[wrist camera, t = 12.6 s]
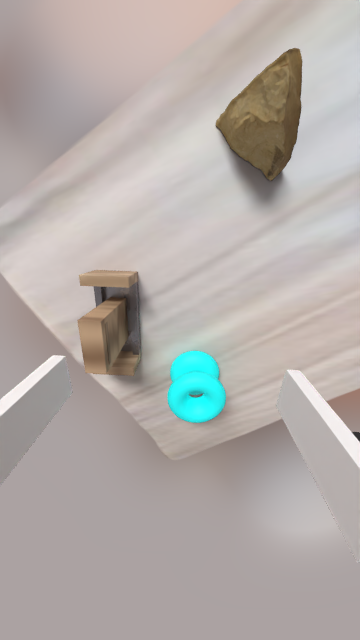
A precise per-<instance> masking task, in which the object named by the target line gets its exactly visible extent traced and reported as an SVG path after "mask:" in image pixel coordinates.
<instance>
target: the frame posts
mask: <svg viewBox="0 0 360 640" xmlns="http://www.w3.org/2000/svg"><path fill="white" fill-rule="evenodd" d="M79 278H80V286H101V287H126V288H129V287H130V286H132V285H133V284H134V283H136V282H137V281H138V276H137V272H131V271H105V270H94V271H91V272H88V273H84V274H81V275H79ZM140 358H141V353H139V355H133V352H131V351H120V352H119V354H118V356H117V357H116V359H115V361H114V362H113V364H112V366H111V367H110V369H109V371H108V372H107V374H109V375H132V376H134V374H135V371H136V369H137V366H138V364H139V361H140ZM93 374H99V373H93Z"/></svg>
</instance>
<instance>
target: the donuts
mask: <svg viewBox="0 0 360 640" xmlns="http://www.w3.org/2000/svg"><path fill="white" fill-rule="evenodd" d="M170 376H171V380H172V382H173V383H172V384H171V386H170V388H169V391H168V404H169V407H170V409H171V410H172V412H173V413H174V414H175V415H176V416H177V417H179V418H180V419H182V420H185V421H188V422H193V423H201V422H206V421H209V420H211V419H213V418H215V417H216V416H217V415H218V414H219V413H220V412H221V411H222V409H223V407H224V405H225V402H226V394H225V390H224V387H223V386H222V384H221V383H220V381H219V380H218V378H219V368H218V365H217V363H216V361H215V360H214V359H213V358H212V357H211V356H210V355H208V354H206V353H204V352H201V351H189V352H185V353H183V354H181V355H180V356H178V357H177V358H176V359H175V360H174V362H173V364H172V366H171V370H170ZM203 393H204V394H203ZM189 394H190V395H199V394H203V395H202V396H201V397H197V398H195V397H191V396H190V395H189Z"/></svg>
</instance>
